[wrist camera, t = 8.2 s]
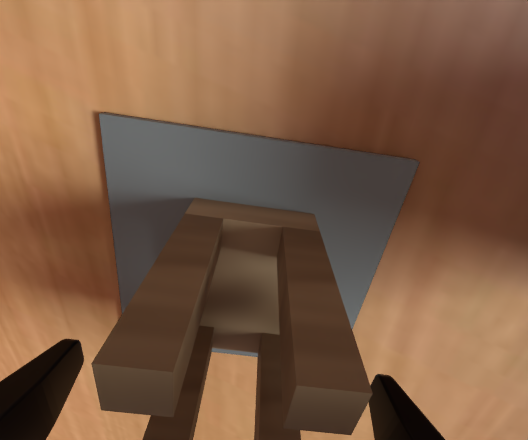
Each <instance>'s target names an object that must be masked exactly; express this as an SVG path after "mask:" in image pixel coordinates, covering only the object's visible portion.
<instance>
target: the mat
mask: <svg viewBox="0 0 528 440" xmlns="http://www.w3.org/2000/svg"><path fill="white" fill-rule="evenodd" d="M99 119H100V128H101V136H102V145H103V153H104V162H105V171H106V179H107V188H108V197H109V205H110V214H111V222H112V231H113V240H114V248H115V257H116V266H117V274H118V283H119V292H120V300H121V309H122V314H123V312H124V311H125V309H126V307H127V306H128V304H129V303H130V301H131V299H132V298H133V296H134V294H135V293H136V291H137V290H138V288H139V286H140V285H141V283H142V282H143V280H144V278H145V277H146V275H147V274H148V272H149V270H150V269H151V267H152V266H153V264H154V262H155V261H156V259H157V257H158V256H159V254H160V253H161V251H162V249H163V248H164V246H165V245H166V243H167V241H168V240H169V238H170V237H171V235H172V233H173V232H174V230H175V229H176V227H177V225H178V224H179V222H180V221H181V219H182V217H183V216H184V214H185V212H186V211H187V209H188V208H189V206H190V204H191V203H192V201H193V200H194V198H201V199H208V200H216V201H223V202H230V203H238V204H245V205H252V206H259V207H267V208H274V209H281V210H289V211H296V212H303V213H310V214H314V215H315V218H316V221H317V224H318V227H319V230H320V233H321V236H322V239H323V242H324V245H325V249H326V252H327V255H328V258H329V261H330V264H331V267H332V270H333V273H334V276H335V279H336V282H337V285H338V289H339V292H340V295H341V298H342V301H343V304H344V307H345V310H346V313H347V316H348V319H349V322H350V325H351V328H352V329H353V326H354V324H355V321H356V319H357V316H358V314H359V311H360V309H361V306H362V304H363V301H364V299H365V296H366V294H367V292H368V289H369V287H370V284H371V282H372V279H373V277H374V274H375V272H376V269H377V267H378V264H379V262H380V259H381V257H382V254H383V252H384V249H385V247H386V244H387V242H388V239H389V237H390V234H391V232H392V229H393V227H394V225H395V222H396V220H397V217H398V215H399V212H400V210H401V207H402V205H403V202H404V200H405V197H406V195H407V192H408V190H409V187H410V185H411V182H412V180H413V177H414V175H415V172H416V170H417V167H418V165H419V163H420V162H419V161H417V160H415V159H409V158H402V157H396V156H389V155H383V154H376V153H369V152H363V151H356V150H350V149H343V148H336V147H330V146H323V145H317V144H310V143H303V142H297V141H290V140H284V139H277V138H270V137H264V136H257V135H251V134H244V133H237V132H231V131H224V130H218V129H211V128H205V127H198V126H191V125H185V124H178V123H172V122H165V121H158V120H152V119H145V118H139V117H132V116H125V115H119V114H112V113H106V112H104V113H99ZM212 352H218V353H227V354H236V355H245V356H254V357H258V353H252V352H243V351H234V350H225V349H216V348H212Z"/></svg>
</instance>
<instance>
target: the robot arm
mask: <svg viewBox="0 0 528 440" xmlns="http://www.w3.org/2000/svg"><path fill="white" fill-rule="evenodd" d="M83 362H84V356H83V352H82V347H81V343H80V341H79V340H74V339H64V340H61V341H60V342H58V343H57V344H55V345H54V346H52V347H51V348H49V349H48V350H46V351H45V352H43V353H42V354H41V355H39V356H38V357H36V358H35V359H33V360H32V361H30V362H29V363H27V364H26V365H24V366H23V367H21V368H20V369H18V370H17V371H15V372H14V373H12V374H11V375H9V376H8V377H6V378H5V379H3V380H2V381H1V382H0V440H46V438H47V437H48V435H49V433H50V431H51V430H52V428H53V426H54V424H55V422H56V420H57V418H58V416H59V414H60V412H61V410H62V408H63V406H64V404H65V402H66V400H67V397H68V395H69V393H70V391H71V389H72V387H73V385H74V383H75V380H76V378H77V376H78V374H79V372H80V370H81V368H82V365H83ZM370 387H371V390H372V393H373V394H372V396H371V398H370V400H369V407H370V413H371V420H372V426H373V432H374V438H375V440H445V439H444V438H443V436H442V435H441V434H440V433H439V432H438V431H437V429H436V428H435V427H434V426H433V425H432V423H431V422H430V421H429V420H428V419H427V418H426V416H425V415H424V414H423V413H422V412H421V411H420V409H419V408H418V407H417V406H416V405H415V403H414V402H413V401H412V400H411V399H410V398H409V396H408V395H407V394H406V393H405V392H404V391H403V389H402V388H401V387H400V386H399V385H398V384H397V382H396V381H395V380H394V379H393V378H392V377H391V376H389V375H383V374H377V375H376V376H375V378H374V380H373V382H372V384H371V385H370Z"/></svg>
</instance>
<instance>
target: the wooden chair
mask: <svg viewBox="0 0 528 440" xmlns="http://www.w3.org/2000/svg"><path fill="white" fill-rule="evenodd" d="M212 348H216V349H225V350H234V351H243V352H252V353H258V363H257V387H256V410H255V434H254V440H301V435H300V430H305V431H315V432H325V433H335V434H345V435H351V434H352V432H353V430H354V428H355V427H356V425H357V423H358V421H359V419H360V417H361V415H362V413H363V411H364V409H365V407H366V406H367V404H368V402H369V400H370V398H371V396H372V394H373V393H372V390H371V387H370V384H369V381H368V378H367V375H366V372H365V368H364V365H363V362H362V359H361V356H360V353H359V350H358V347H357V344H356V341H355V338H354V335H353V332H352V328H351V325H350V322H349V319H348V316H347V313H346V310H345V307H344V304H343V301H342V298H341V295H340V292H339V289H338V285H337V282H336V279H335V276H334V273H333V270H332V267H331V264H330V261H329V258H328V255H327V252H326V249H325V245H324V242H323V239H322V236H321V233H320V230H319V227H318V224H317V221H316V218H315V215H314V214H310V213H303V212H296V211H289V210H281V209H274V208H267V207H259V206H252V205H245V204H238V203H230V202H223V201H216V200H208V199H201V198H194V200H193V201H192V203H191V204H190V206H189V208H188V209H187V211H186V212H185V214H184V216H183V217H182V219H181V221H180V222H179V224H178V225H177V227H176V229H175V230H174V232H173V233H172V235H171V237H170V238H169V240H168V241H167V243H166V245H165V246H164V248H163V249H162V251H161V253H160V254H159V256H158V257H157V259H156V261H155V262H154V264H153V266H152V267H151V269H150V270H149V272H148V274H147V275H146V277H145V278H144V280H143V282H142V283H141V285H140V286H139V288H138V290H137V291H136V293H135V294H134V296H133V298H132V299H131V301H130V303H129V304H128V306H127V307H126V309H125V311H124V312H123V314H122V315H121V317H120V319H119V320H118V322H117V323H116V325H115V327H114V328H113V330H112V331H111V333H110V335H109V336H108V338H107V339H106V341H105V343H104V344H103V346H102V348H101V349H100V351H99V352H98V354H97V356H96V357H95V359H94V360H93V362H92V368H93V373H94V378H95V382H96V387H97V392H98V397H99V402H100V406H101V410H104V411H114V412H124V413H134V414H144V415H151V417H150V420H149V423H148V426H147V428H146V431H145V434H144V437H143V440H193V437H194V432H195V427H196V423H197V418H198V413H199V408H200V404H201V399H202V394H203V390H204V385H205V380H206V375H207V371H208V366H209V361H210V357H211V352H212Z"/></svg>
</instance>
